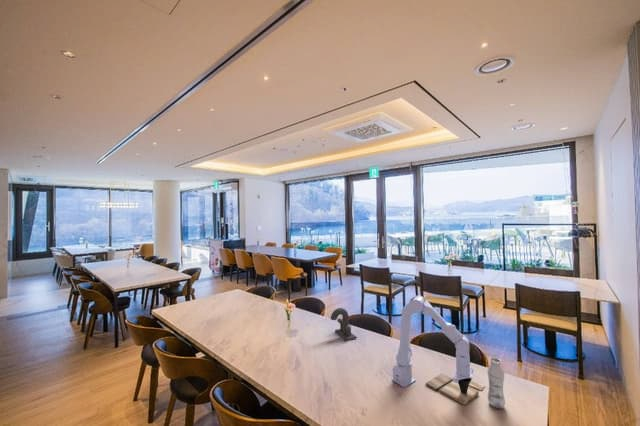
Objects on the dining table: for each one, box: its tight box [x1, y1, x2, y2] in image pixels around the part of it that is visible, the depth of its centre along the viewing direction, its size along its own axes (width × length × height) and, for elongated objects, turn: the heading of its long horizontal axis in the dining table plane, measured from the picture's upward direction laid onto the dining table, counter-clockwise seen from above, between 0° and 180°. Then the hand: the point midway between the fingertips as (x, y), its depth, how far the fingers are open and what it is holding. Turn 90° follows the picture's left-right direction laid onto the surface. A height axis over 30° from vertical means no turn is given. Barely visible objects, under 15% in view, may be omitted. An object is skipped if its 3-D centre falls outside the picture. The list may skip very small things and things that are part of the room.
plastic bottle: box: [486, 357, 506, 410], centre depth 121 cm, size 6×7×20 cm
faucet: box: [330, 307, 358, 342], centre depth 194 cm, size 18×16×20 cm
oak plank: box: [438, 381, 480, 406], centre depth 129 cm, size 13×12×1 cm
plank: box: [468, 380, 486, 392], centre depth 137 cm, size 5×12×1 cm, turn 45°
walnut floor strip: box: [425, 373, 453, 392], centre depth 137 cm, size 14×6×1 cm, turn 125°
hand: (463, 392), depth 127 cm, fingers closed, pressing on oak plank
